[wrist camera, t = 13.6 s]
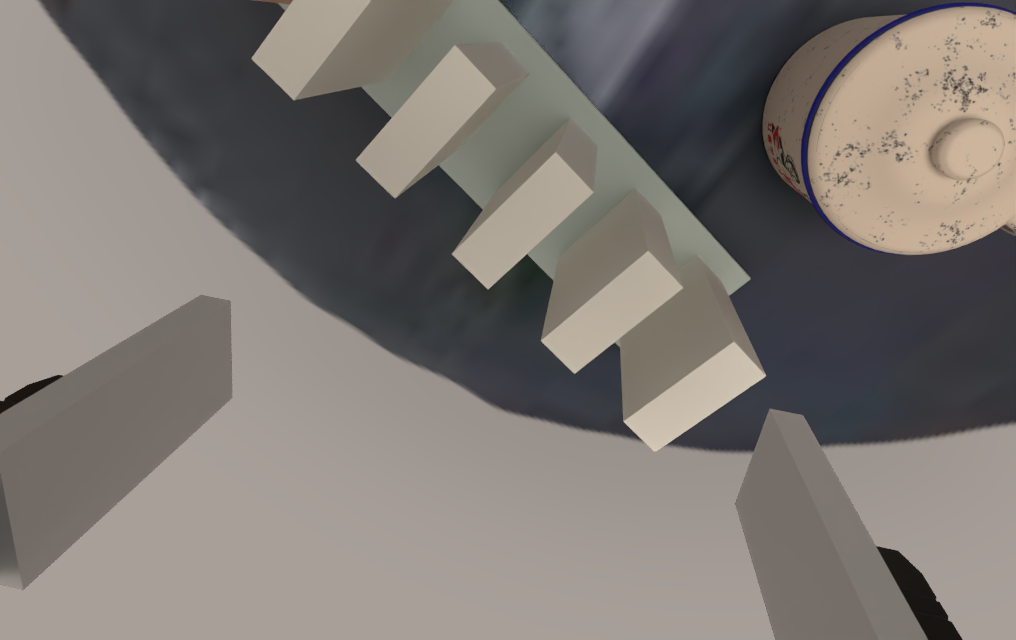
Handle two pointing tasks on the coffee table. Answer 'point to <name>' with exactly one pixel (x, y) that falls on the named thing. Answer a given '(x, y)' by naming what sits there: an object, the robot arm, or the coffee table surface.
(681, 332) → the domino
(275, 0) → the domino
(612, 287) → the domino
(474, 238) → the domino
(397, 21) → the domino
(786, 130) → the teacup with lid
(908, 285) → the coffee table surface
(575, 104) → the strip
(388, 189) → the domino
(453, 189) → the coffee table surface
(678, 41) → the coffee table surface
